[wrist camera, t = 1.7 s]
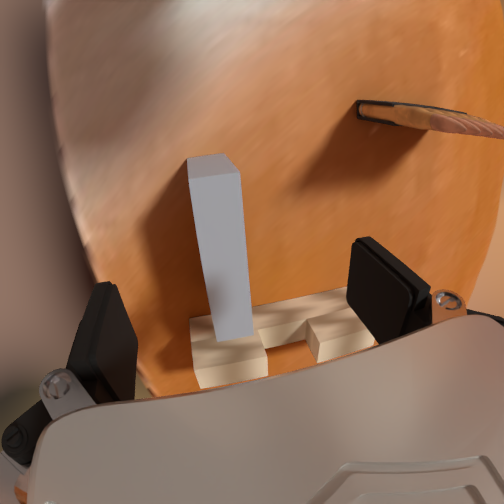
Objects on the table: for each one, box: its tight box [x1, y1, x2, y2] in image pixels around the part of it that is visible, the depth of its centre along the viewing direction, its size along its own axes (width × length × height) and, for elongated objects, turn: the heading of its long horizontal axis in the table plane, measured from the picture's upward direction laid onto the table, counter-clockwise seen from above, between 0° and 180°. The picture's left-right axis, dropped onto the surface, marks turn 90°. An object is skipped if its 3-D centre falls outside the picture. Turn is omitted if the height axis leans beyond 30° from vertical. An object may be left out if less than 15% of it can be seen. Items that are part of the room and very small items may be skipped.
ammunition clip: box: [357, 100, 504, 139], centre depth 19 cm, size 11×2×12 cm, turn 96°
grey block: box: [187, 153, 254, 342], centre depth 23 cm, size 13×3×7 cm, turn 4°
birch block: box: [189, 287, 375, 389], centre depth 29 cm, size 18×3×7 cm, turn 94°
